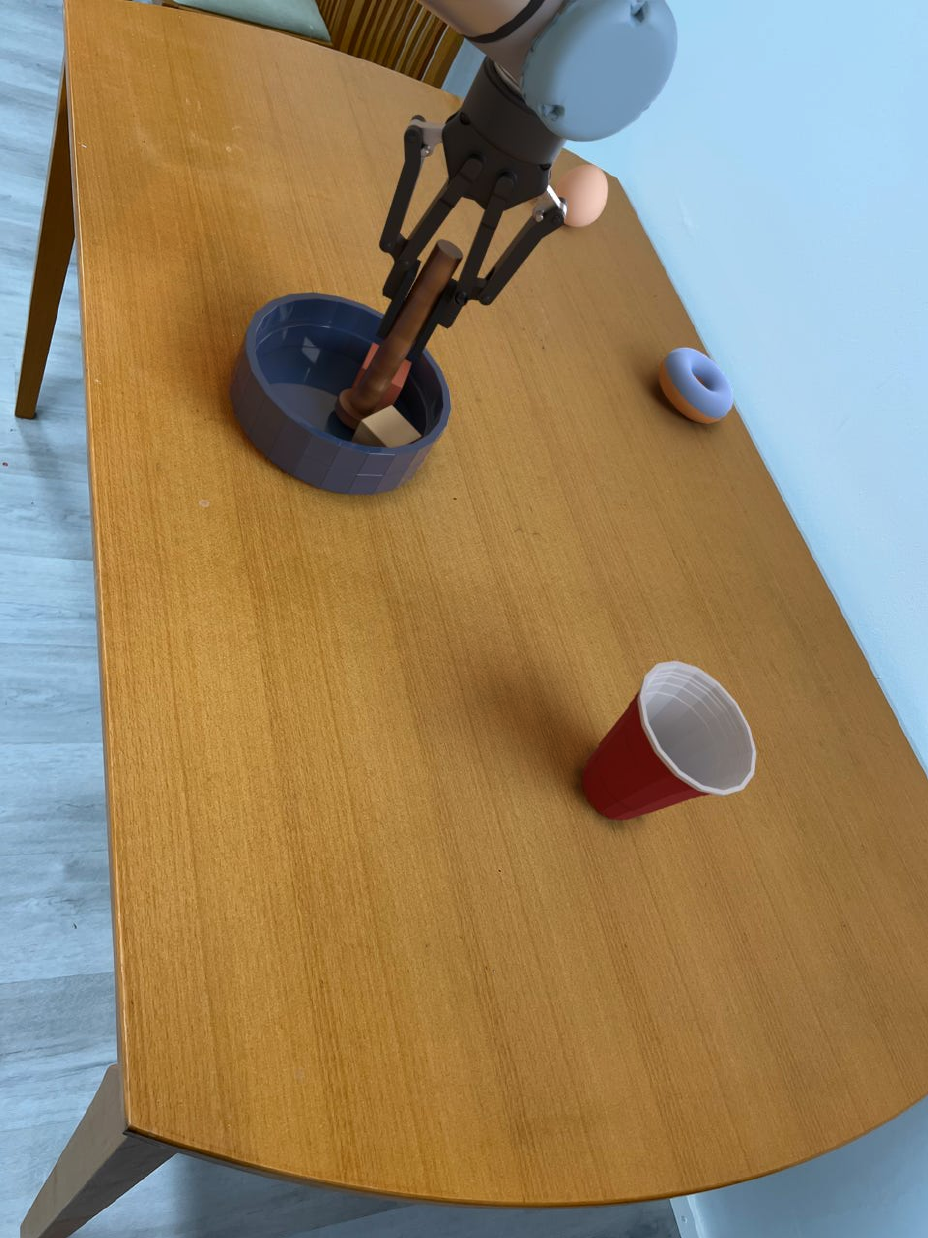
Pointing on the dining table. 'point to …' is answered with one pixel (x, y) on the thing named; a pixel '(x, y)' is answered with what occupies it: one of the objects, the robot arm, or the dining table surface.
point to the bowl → (328, 394)
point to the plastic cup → (670, 746)
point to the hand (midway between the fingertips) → (401, 337)
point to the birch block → (385, 430)
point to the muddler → (400, 335)
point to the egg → (583, 194)
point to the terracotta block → (395, 385)
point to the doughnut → (695, 385)
